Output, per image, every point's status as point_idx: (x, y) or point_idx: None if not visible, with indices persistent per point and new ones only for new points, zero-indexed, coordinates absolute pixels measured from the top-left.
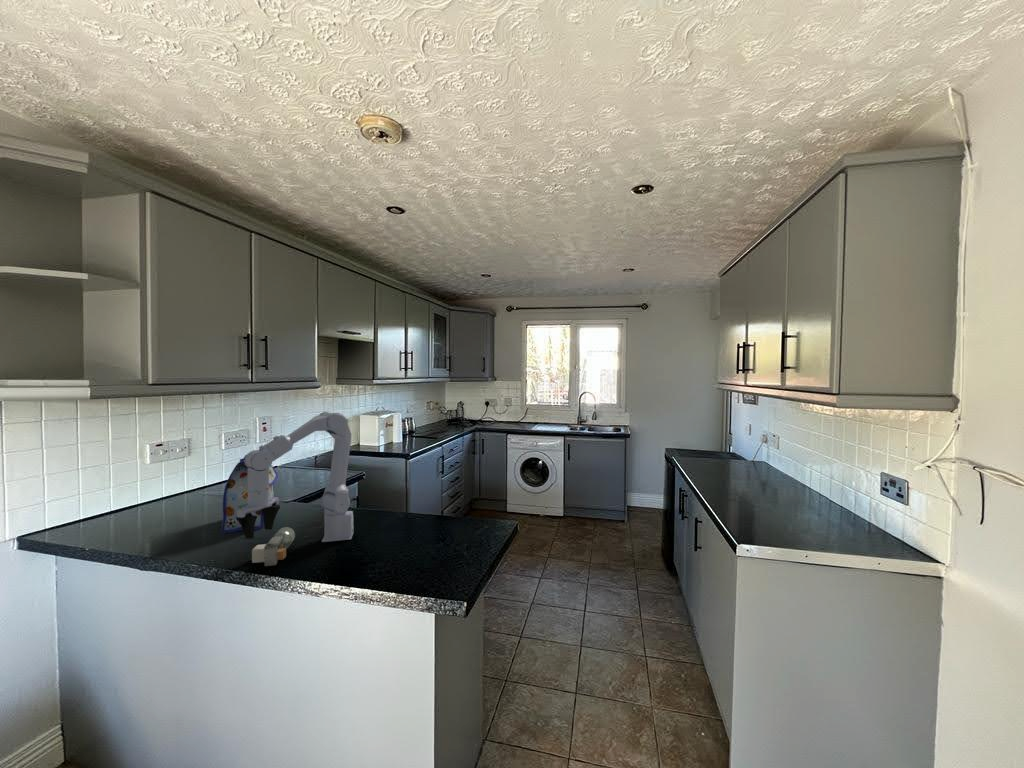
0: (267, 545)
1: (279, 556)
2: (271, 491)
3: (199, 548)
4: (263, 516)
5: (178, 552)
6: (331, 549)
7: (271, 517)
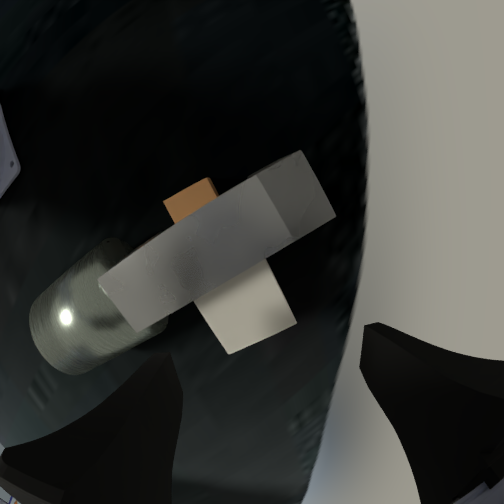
0: (312, 213)
1: (217, 194)
2: (17, 502)
3: (234, 487)
4: (170, 485)
5: (267, 494)
6: (69, 67)
7: (135, 429)
